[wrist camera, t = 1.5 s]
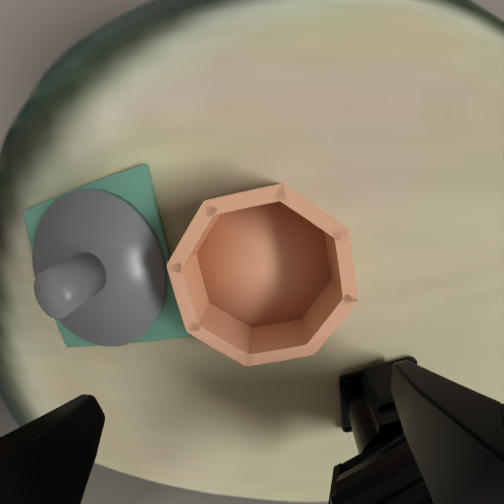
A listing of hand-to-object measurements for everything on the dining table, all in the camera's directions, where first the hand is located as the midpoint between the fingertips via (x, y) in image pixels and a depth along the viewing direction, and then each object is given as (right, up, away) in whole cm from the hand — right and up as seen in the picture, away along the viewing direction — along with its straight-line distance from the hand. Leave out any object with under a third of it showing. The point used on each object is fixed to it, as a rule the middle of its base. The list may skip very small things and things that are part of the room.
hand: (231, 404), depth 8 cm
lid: (-11, +3, +12) cm, 17 cm away
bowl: (+1, +3, +12) cm, 13 cm away
